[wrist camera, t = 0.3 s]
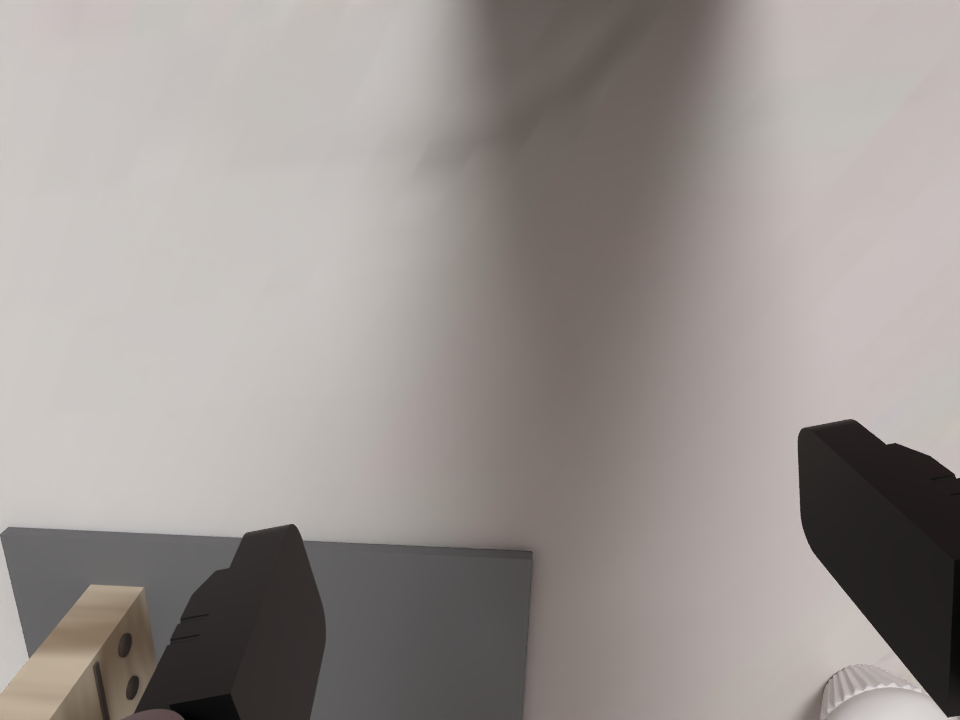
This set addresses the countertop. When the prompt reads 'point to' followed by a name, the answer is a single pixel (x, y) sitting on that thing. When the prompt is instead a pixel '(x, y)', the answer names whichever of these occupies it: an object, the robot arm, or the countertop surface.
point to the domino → (88, 661)
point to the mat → (347, 607)
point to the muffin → (876, 697)
